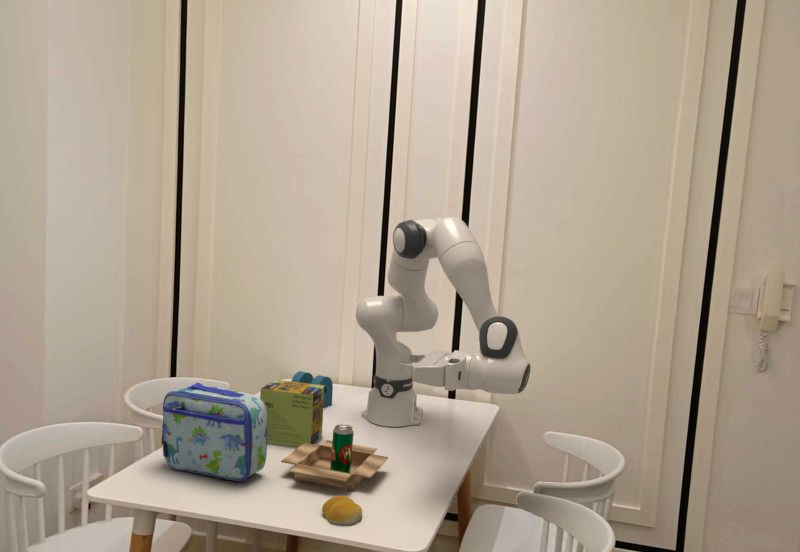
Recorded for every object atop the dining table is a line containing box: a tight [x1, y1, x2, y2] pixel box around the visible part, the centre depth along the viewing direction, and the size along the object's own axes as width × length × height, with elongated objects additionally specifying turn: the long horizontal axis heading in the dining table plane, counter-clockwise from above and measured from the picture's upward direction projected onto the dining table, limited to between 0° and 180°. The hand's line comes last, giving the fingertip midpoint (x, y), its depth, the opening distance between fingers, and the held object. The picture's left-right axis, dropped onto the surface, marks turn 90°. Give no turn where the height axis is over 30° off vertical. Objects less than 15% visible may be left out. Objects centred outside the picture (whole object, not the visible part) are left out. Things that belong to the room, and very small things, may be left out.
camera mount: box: [290, 370, 334, 409], centre depth 230 cm, size 18×10×10 cm, turn 152°
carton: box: [280, 439, 389, 492], centre depth 179 cm, size 23×23×4 cm
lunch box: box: [161, 382, 268, 482], centre depth 176 cm, size 26×11×21 cm, turn 68°
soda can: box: [330, 423, 355, 473], centre depth 178 cm, size 5×5×12 cm
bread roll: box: [321, 495, 363, 526], centre depth 157 cm, size 8×9×4 cm
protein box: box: [259, 379, 324, 449], centre depth 201 cm, size 10×15×16 cm
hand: (403, 362), depth 175 cm, fingers open, 8 cm apart
